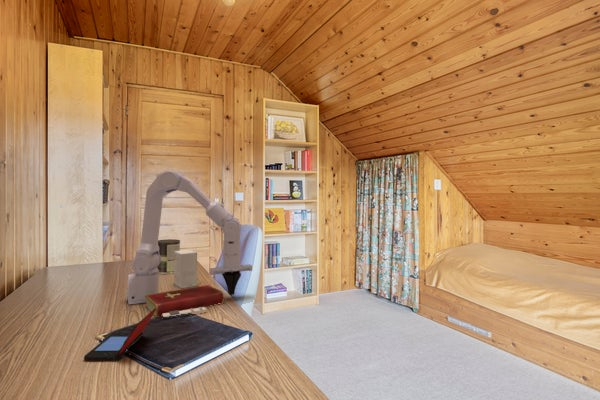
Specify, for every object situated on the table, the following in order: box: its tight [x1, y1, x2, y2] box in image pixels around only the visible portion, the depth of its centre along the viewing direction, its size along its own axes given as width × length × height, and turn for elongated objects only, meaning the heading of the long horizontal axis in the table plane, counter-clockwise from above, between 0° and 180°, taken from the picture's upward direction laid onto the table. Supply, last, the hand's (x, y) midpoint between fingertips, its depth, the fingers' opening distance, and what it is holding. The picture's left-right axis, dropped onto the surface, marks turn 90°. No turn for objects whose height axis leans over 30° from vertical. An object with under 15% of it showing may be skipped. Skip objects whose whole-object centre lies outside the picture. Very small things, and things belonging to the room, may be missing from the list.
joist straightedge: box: [161, 307, 208, 317], centre depth 95 cm, size 12×2×1 cm, turn 121°
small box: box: [173, 249, 198, 289], centre depth 127 cm, size 8×6×13 cm
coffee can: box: [157, 238, 181, 275], centre depth 149 cm, size 10×10×14 cm
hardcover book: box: [145, 284, 225, 318], centre depth 104 cm, size 12×21×4 cm, turn 130°
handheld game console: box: [83, 308, 156, 362], centre depth 74 cm, size 12×11×7 cm
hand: (231, 293), depth 112 cm, fingers closed
